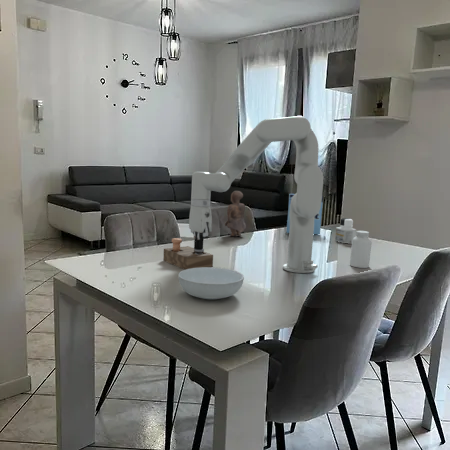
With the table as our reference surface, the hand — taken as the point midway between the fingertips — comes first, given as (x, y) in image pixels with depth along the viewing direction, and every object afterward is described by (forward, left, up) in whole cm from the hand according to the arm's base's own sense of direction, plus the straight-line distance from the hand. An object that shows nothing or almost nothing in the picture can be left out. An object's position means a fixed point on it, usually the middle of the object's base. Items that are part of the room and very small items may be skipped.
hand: (198, 248), depth 185 cm
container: (+7, -102, -7) cm, 102 cm away
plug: (0, 0, -5) cm, 5 cm away
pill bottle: (-32, -62, -7) cm, 70 cm away
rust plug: (+8, +5, -2) cm, 10 cm away
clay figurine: (+45, -56, -7) cm, 72 cm away
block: (+4, +2, -7) cm, 8 cm away
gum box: (+36, -100, -7) cm, 106 cm away
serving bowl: (-34, +18, -7) cm, 39 cm away
